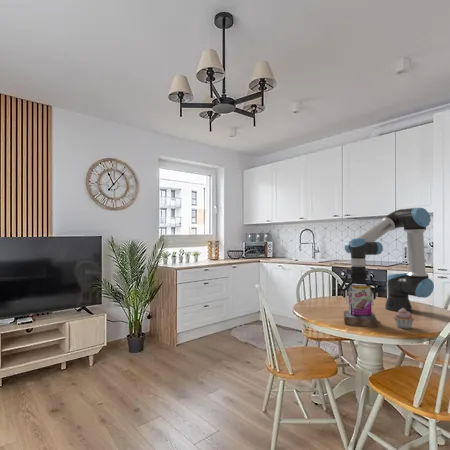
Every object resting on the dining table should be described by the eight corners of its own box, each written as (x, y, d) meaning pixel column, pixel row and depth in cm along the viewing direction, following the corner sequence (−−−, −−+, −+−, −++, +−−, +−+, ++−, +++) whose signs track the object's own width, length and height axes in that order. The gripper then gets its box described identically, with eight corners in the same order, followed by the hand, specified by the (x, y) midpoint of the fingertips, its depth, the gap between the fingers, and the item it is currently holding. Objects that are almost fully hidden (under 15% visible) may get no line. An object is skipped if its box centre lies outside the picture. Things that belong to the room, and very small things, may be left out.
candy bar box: (351, 315, 171) (350, 285, 171) (348, 313, 176) (347, 284, 176) (372, 316, 169) (371, 285, 170) (369, 313, 174) (368, 284, 175)
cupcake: (416, 327, 162) (416, 307, 162) (411, 331, 155) (410, 311, 156) (397, 323, 168) (396, 305, 169) (391, 327, 162) (390, 308, 162)
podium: (373, 319, 177) (373, 312, 178) (377, 327, 162) (377, 319, 162) (343, 317, 183) (343, 310, 183) (344, 324, 168) (344, 316, 168)
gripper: (334, 266, 174) (335, 304, 174) (384, 267, 166) (385, 307, 165) (334, 264, 181) (335, 301, 181) (382, 265, 173) (383, 304, 172)
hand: (359, 304), depth 173 cm, fingers open, 13 cm apart
